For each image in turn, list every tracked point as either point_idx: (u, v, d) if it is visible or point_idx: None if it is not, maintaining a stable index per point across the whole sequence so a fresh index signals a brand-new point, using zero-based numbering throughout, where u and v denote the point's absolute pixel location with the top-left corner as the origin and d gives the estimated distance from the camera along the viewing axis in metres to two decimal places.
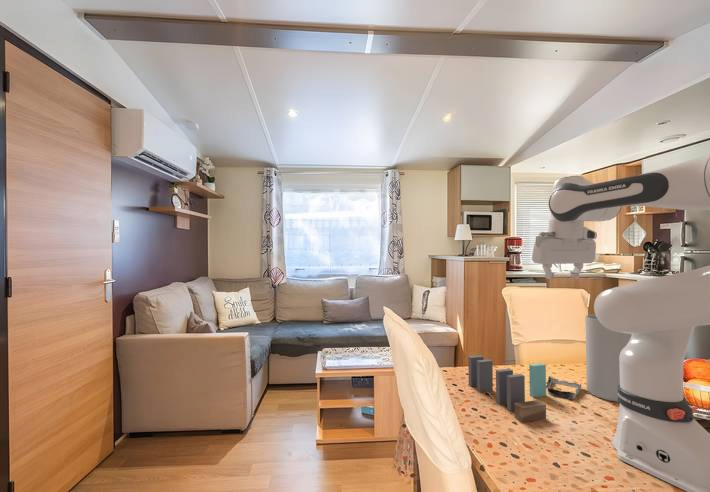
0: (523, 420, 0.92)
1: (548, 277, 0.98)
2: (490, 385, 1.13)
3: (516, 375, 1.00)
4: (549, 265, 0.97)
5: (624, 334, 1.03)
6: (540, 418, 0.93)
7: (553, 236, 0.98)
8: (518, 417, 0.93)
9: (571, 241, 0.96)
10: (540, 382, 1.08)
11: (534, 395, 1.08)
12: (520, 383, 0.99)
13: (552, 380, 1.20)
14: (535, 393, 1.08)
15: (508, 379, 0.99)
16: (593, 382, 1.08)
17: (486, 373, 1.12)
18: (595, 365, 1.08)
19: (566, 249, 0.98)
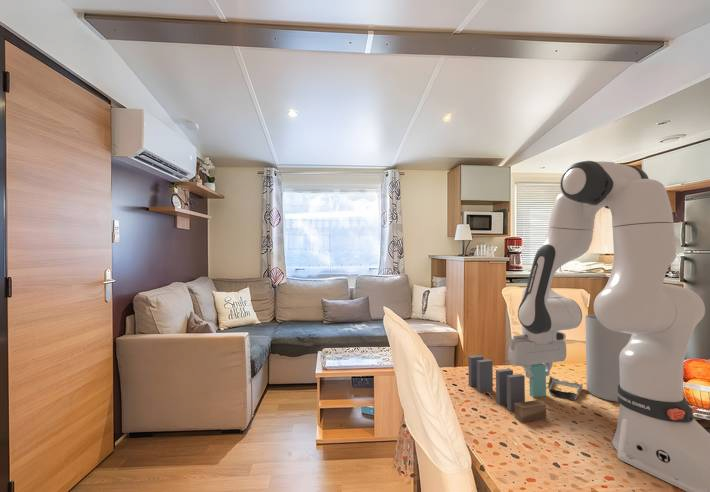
0: (523, 420, 0.92)
1: (528, 376, 1.08)
2: (490, 385, 1.13)
3: (516, 375, 1.00)
4: (528, 366, 1.07)
5: (624, 334, 1.03)
6: (540, 418, 0.93)
7: (526, 339, 1.08)
8: (518, 417, 0.93)
9: (542, 344, 1.06)
10: (540, 382, 1.08)
11: (534, 395, 1.08)
12: (520, 383, 0.99)
13: (553, 380, 1.20)
14: (535, 393, 1.08)
15: (508, 379, 0.99)
16: (593, 382, 1.08)
17: (486, 373, 1.12)
18: (595, 365, 1.08)
19: (538, 350, 1.08)
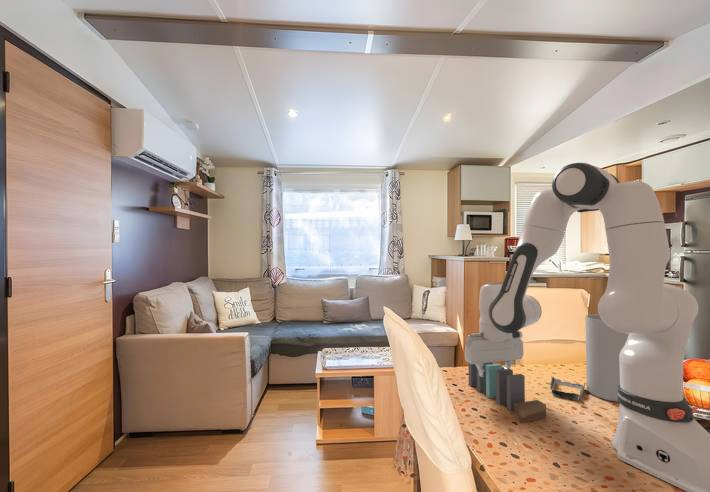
0: (523, 420, 0.92)
1: (481, 375, 1.07)
2: None
3: (516, 375, 1.00)
4: (480, 364, 1.06)
5: (624, 334, 1.03)
6: (540, 418, 0.93)
7: (482, 337, 1.07)
8: (518, 417, 0.93)
9: (497, 342, 1.06)
10: None
11: (490, 396, 1.07)
12: (520, 383, 0.99)
13: (555, 381, 1.19)
14: (491, 394, 1.07)
15: (508, 379, 0.99)
16: (593, 382, 1.08)
17: None
18: (595, 365, 1.08)
19: (494, 348, 1.07)
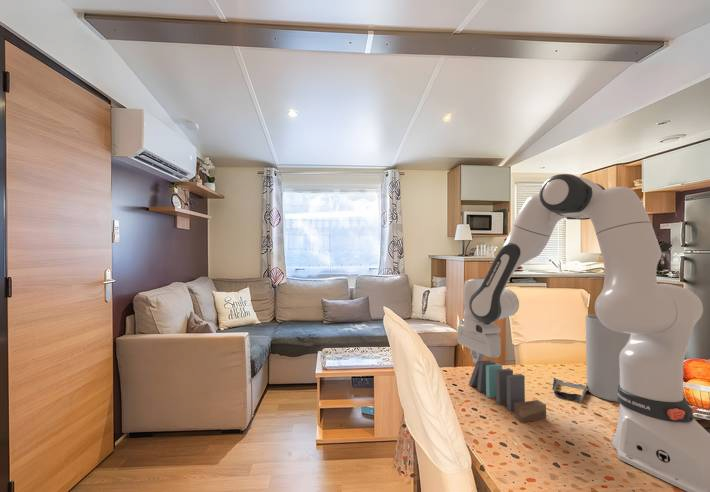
0: (523, 420, 0.92)
1: None
2: None
3: (516, 375, 1.00)
4: (470, 350, 1.19)
5: (624, 334, 1.03)
6: (540, 418, 0.93)
7: None
8: (518, 417, 0.93)
9: (467, 330, 1.18)
10: None
11: (490, 396, 1.07)
12: (520, 383, 0.99)
13: (557, 382, 1.18)
14: (490, 394, 1.07)
15: (508, 379, 0.99)
16: (593, 382, 1.08)
17: None
18: (595, 365, 1.07)
19: (471, 337, 1.18)
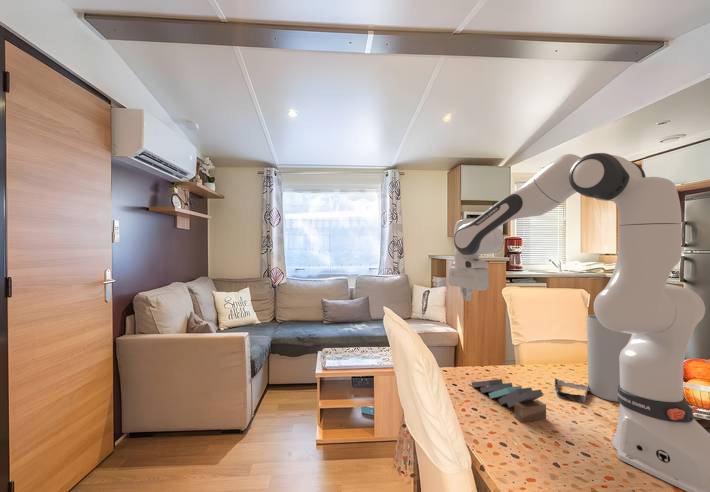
0: (523, 420, 0.92)
1: None
2: None
3: (535, 392, 0.93)
4: (461, 288, 1.25)
5: (626, 334, 1.03)
6: (540, 418, 0.93)
7: None
8: (518, 417, 0.93)
9: (458, 269, 1.23)
10: None
11: None
12: (534, 398, 0.94)
13: (558, 382, 1.18)
14: (494, 397, 1.06)
15: (525, 395, 0.92)
16: (594, 382, 1.08)
17: None
18: (596, 365, 1.07)
19: (461, 276, 1.24)
